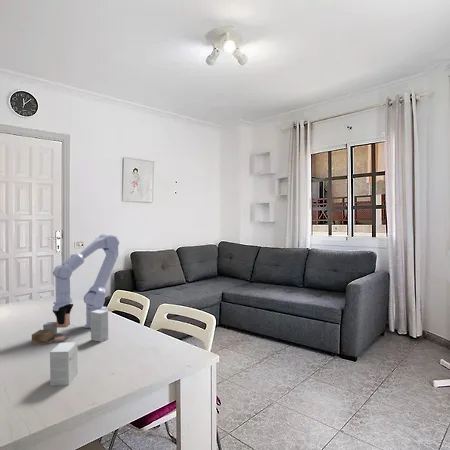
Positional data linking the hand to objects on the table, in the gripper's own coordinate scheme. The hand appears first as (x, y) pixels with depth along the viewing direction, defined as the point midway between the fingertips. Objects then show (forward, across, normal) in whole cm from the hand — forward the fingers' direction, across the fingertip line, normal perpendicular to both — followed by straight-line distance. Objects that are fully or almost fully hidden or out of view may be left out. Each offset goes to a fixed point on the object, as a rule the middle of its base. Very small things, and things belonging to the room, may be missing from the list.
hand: (63, 322), depth 148 cm
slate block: (+5, +2, -5) cm, 7 cm away
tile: (+5, +9, +2) cm, 10 cm away
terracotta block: (+2, 0, 0) cm, 2 cm away
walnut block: (+5, +10, -4) cm, 12 cm away
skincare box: (+5, +9, +19) cm, 21 cm away
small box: (+5, +44, +20) cm, 48 cm away
